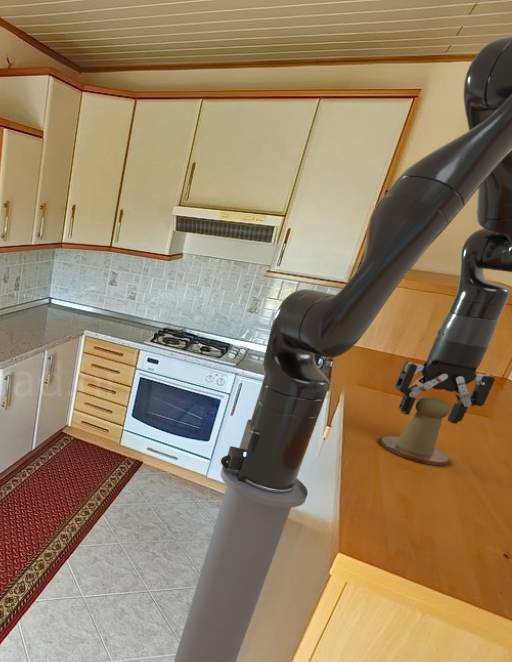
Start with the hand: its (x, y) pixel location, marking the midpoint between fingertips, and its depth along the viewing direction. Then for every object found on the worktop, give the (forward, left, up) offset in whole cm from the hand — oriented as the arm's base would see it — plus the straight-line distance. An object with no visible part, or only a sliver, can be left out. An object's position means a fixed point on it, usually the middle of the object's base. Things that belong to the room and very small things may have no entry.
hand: (427, 417), depth 98 cm
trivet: (0, 0, -8) cm, 8 cm away
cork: (0, 0, -7) cm, 7 cm away
